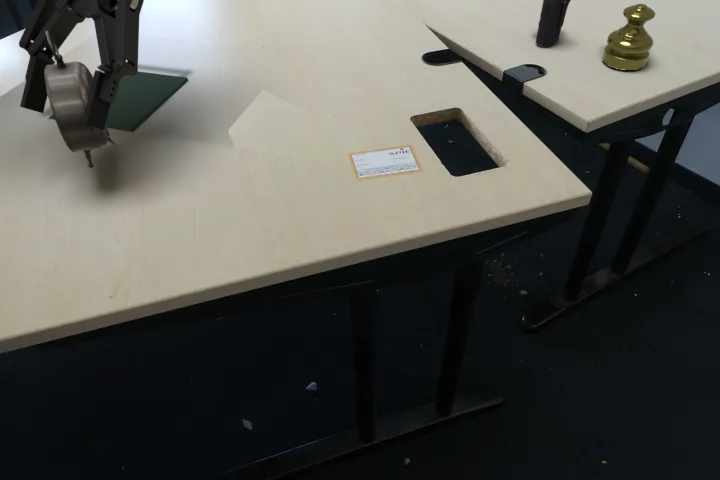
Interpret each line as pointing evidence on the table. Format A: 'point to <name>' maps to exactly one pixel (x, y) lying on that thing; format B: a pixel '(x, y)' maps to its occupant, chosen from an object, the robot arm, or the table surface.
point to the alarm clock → (72, 104)
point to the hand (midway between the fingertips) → (61, 118)
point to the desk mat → (140, 98)
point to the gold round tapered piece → (630, 40)
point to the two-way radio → (551, 21)
